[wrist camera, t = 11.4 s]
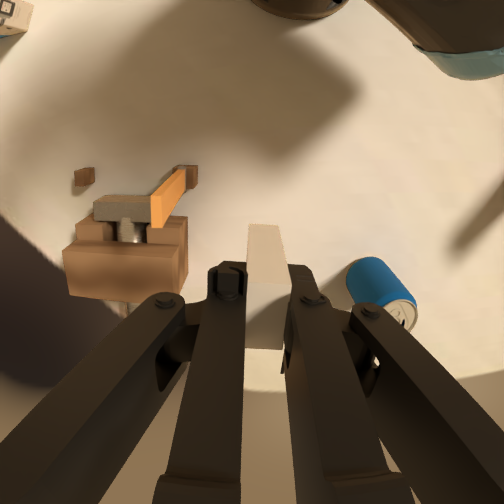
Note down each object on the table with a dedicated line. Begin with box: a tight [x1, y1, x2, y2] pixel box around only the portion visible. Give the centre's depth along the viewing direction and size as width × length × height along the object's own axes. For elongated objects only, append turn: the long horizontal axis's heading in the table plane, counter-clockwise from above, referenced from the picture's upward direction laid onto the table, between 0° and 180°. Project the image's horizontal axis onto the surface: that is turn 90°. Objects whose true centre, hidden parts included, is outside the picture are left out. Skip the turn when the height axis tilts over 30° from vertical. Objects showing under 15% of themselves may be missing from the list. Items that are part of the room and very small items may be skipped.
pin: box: [93, 195, 151, 316], centre depth 42 cm, size 18×9×4 cm, turn 177°
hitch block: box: [62, 165, 198, 304], centre depth 37 cm, size 15×16×9 cm
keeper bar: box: [151, 166, 186, 228], centre depth 30 cm, size 3×15×1 cm
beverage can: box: [346, 257, 418, 333], centre depth 39 cm, size 6×6×12 cm
